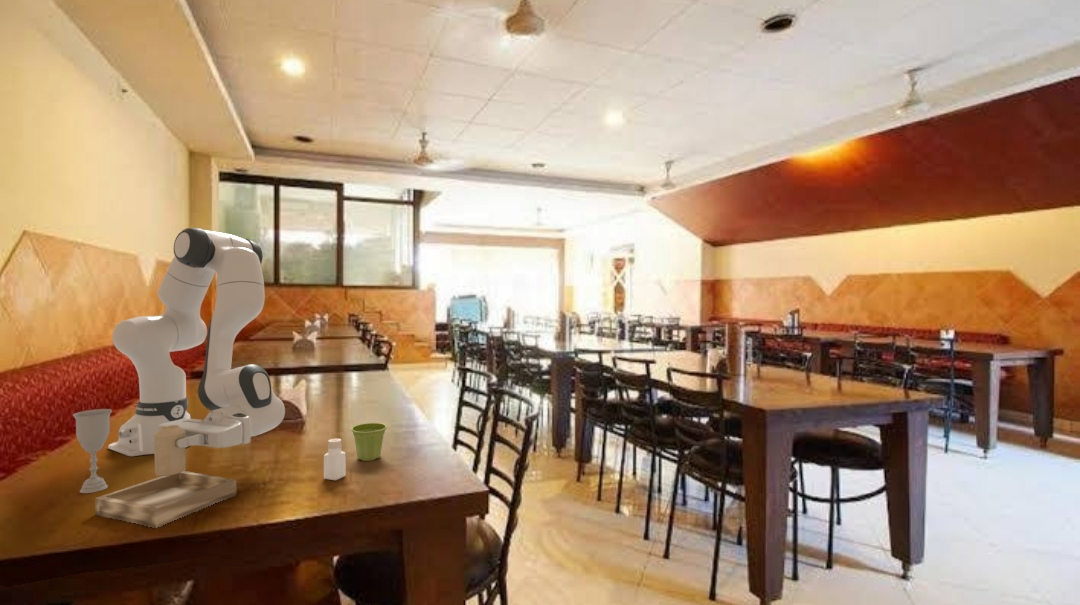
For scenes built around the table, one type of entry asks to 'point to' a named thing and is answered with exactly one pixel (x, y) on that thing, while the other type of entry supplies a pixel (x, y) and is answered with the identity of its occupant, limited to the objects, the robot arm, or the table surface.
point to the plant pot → (369, 440)
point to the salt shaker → (334, 460)
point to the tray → (165, 498)
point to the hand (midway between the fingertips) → (165, 442)
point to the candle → (169, 451)
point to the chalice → (93, 442)
